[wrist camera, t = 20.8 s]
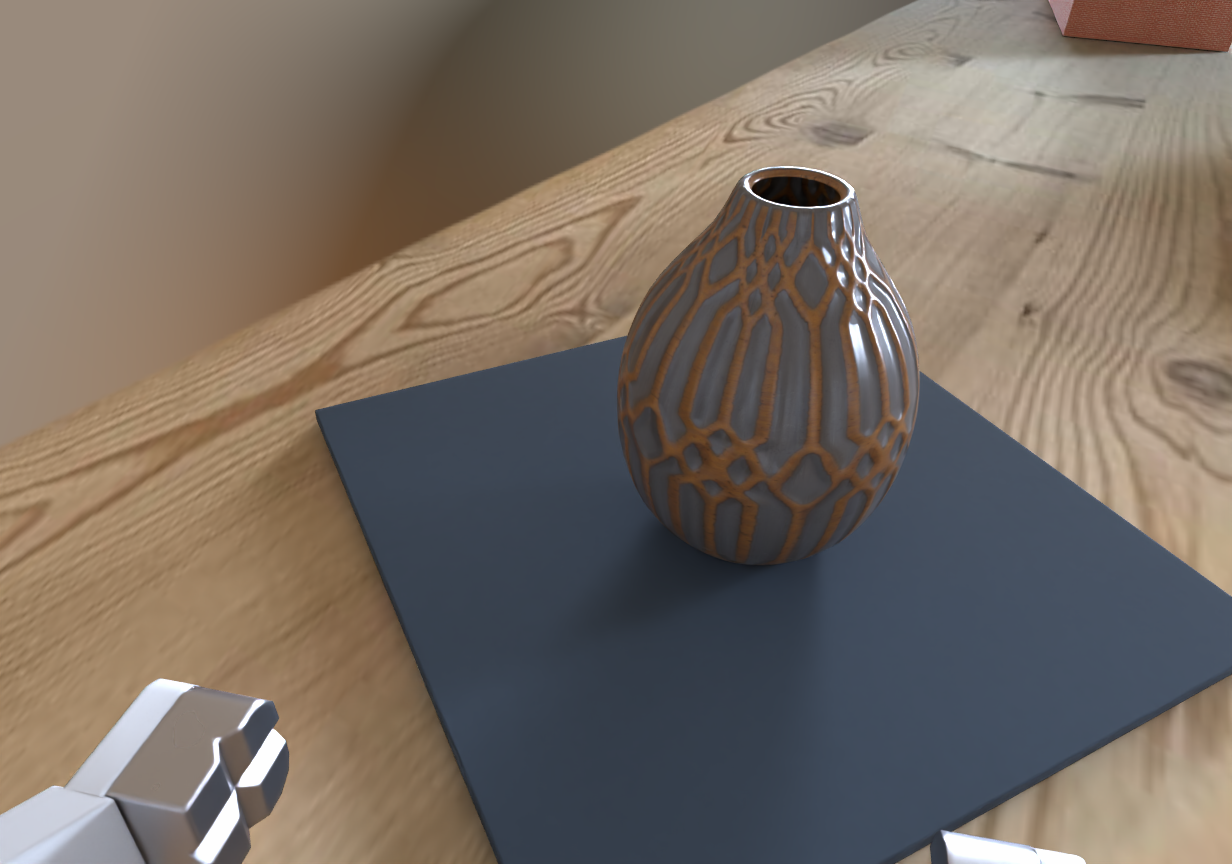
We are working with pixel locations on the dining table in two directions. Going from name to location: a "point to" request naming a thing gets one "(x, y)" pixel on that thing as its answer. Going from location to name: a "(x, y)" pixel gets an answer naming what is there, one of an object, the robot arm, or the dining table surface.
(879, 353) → the vase
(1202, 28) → the house
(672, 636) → the mat
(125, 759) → the robot arm
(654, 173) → the dining table surface
